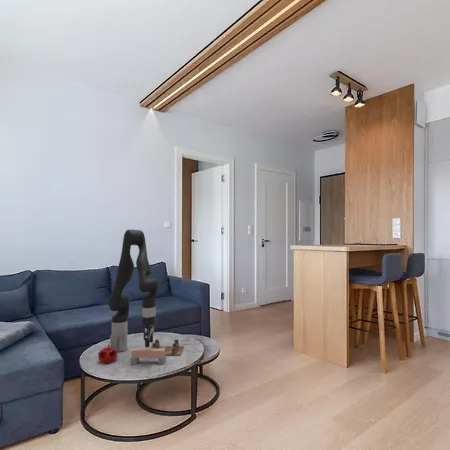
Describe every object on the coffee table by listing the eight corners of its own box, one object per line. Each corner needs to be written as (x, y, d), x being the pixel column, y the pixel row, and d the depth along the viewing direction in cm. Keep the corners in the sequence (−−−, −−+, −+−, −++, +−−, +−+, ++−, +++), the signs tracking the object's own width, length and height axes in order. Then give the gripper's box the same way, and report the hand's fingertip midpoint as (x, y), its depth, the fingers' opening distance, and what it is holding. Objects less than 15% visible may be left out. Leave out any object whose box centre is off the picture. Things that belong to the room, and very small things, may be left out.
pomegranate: (99, 359, 192) (99, 342, 192) (117, 357, 194) (117, 341, 194) (97, 365, 182) (97, 348, 182) (116, 363, 184) (116, 346, 185)
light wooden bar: (131, 357, 185) (131, 350, 185) (133, 355, 188) (133, 348, 189) (164, 358, 184) (164, 350, 185) (165, 355, 188) (165, 348, 188)
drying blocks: (130, 364, 184) (130, 358, 184) (133, 360, 190) (133, 354, 190) (163, 364, 183) (163, 359, 183) (165, 360, 189) (165, 355, 189)
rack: (145, 355, 196) (146, 345, 197) (151, 347, 210) (151, 337, 211) (180, 355, 196) (180, 345, 196) (183, 347, 210) (183, 338, 210)
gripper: (145, 312, 194) (145, 340, 194) (138, 318, 180) (138, 349, 180) (158, 312, 194) (158, 340, 194) (152, 318, 180) (152, 348, 179)
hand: (149, 344), depth 187 cm, fingers open, 8 cm apart
